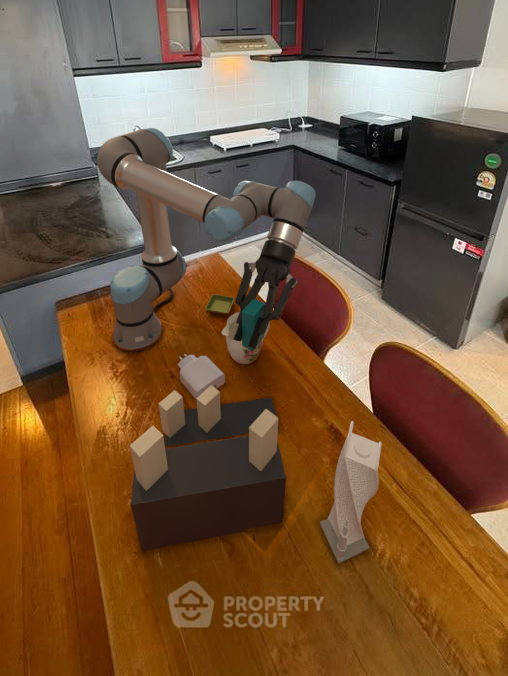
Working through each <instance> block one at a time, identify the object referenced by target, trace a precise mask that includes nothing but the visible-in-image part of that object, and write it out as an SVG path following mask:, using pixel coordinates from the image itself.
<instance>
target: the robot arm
mask: <svg viewBox="0 0 508 676" xmlns="http://www.w3.org/2000/svg"><path fill="white" fill-rule="evenodd" d="M173 156H174V149H173V145H172V142H171V141H170V139H169V138H168V136H167V135H165V133H164V132H163V131H162V130H160V129H158V128H154V127H147V128H139V129H138V130H134V131H131V132H127V133H124V134H122V135H117V136H113V137H111V138H109V139H107V140H106V141H105V142H104V143H103V144H102V145H100V148H99V150H98V153H97V157H96V163H97V167H98V170H99V172H100V175H102V177H103V178H104V179H105V180H106V181H107V182H108V183H109V184H111V185H113V186H114V187H117V188H119V189H121V190H124V191H127V190H132V191H134V192H135V196H136V202H137V210H138V215H139V220H140V226H141V227H140V228H141V233H142V238H143V245H144V250H143V251H142V253H141V262H142V264H141V265H131V266H129V267H124V268H122V269H121V270H119V271H117V272H116V273H115V275H113V276H112V278H111V281H110V284H109V285H110V287H109V288H110V298H111V300H112V304H113V311H114V316H115V319H116V320H115V324H114V328H113V333H112V338H113V342H114V344H115V346H116V348H118V349H119V350H121V351H124V352H127V353H137V352H143V351H145V350H147V349H150V348H151V347H153V346H154V345H155V344H156V343H157V342H158V341H159V340H160V339H161V336H162V333H163V328H162V323H161V320H160V319H159V317H158V315H156V313H155V310H156V309H157V308H158V307H160V306H162V305H164V304H165V303H167V302H169V301H171V299H172V298H173V296H174V291H173V289H172V288H173V287H174V286H175V285H177V284H178V283H179V282H180V281H181V280H183V278H184V276H185V275H186V272H187V266H188V264H187V261H186V260H185V257H183V255H182V253H181V252H180V251H179V250H177V248H176V247H175V246H174V245H172V238H171V230H170V222H169V215H168V208H171V209H172V210H174V211H176V212H179V213H181V214H183V215H185V216H187V217H189V218H191V219H194V220H196V221H198V222H200V223H202V224H203V225H204V229H205V231H206V233H207V235H210V237H211V239H213V240H215V241H217V242H221V243H222V242H223V243H224V242H228V241H230V240H232V239H233V238H235V237H236V236H239V235H240V234H241V233H242V232H243V231H244V230H245V229H246V228H247V227H249V226H250V225H251V224H252V223H254V222H255V221H256V220H258V219H259V218H260V217H262V216H264V217H268V218H272V219H273V220H272V223H271V225H270V228H269V230H268V233H267V236H266V237H267V238H266V239H267V240H265V241H264V243H263V247H262V249H261V251H260V255H259V257H258V258H257V259H256V260H255V262H248V261H245V262H244V263H243V275H242V277H241V280H240V284H239V287H238V290H237V293H236V297H235V299H234V303H235V304H236V305H237V306H238V307H239V308H240V309H239V312H240V313H239V315H238V318H237V320H236V323H237V324H239V326H238V328H237V331H236V333H235V336H234V339H233V340H236V341H240V342H241V340H242V311H243V310H244V309H245V308H246V306H247V305H248V304H249V303H250V302H251V301H252V300H253V299H255V300H257V297H258V295H259V293H260V291H261V289H262V288H263V286H265V284H266V283H268V290H267V295H266V298H265V299H266V300H265V308H264V313H263V315H262V318H261V317H259V318H258V320H257V323H256V326H255V329H254V331H253V334H252V337H251V339H250V342H249V345H248V346H249V347H251V348H256V345H257V342H258V340H259V337H260V334H263V335H264V334H265V332H266V330H267V327H268V324H269V322H270V323H271V321H279V320H280V318H281V317H282V314H283V312H284V310H285V308H286V306H287V303H288V301H289V299H290V297H291V294H292V292H293V290H294V289H295V288H296V287H297V286H298V285H299V280H298V279H296V278H295V277H293V276H292V275H291V267H292V264H293V262H294V259H295V256H296V254H297V252H296V249H298V248H299V244H300V242H301V239H302V236H303V234H304V230H305V227H306V225H307V223H308V220H309V217H310V214H311V212H312V210H313V206H314V202H315V199H316V196H317V195H316V194H317V193H316V190H315V189H314V187H312V186H311V185H310V184H308V183H306V182H303V181H301V180H290V181H289V182H287V184H286V185H285V187H283V188H282V187H277V186H272V185H268V184H263V183H259V182H257V181H250V180H249V181H248V180H242V181H240V182H239V183H237V186H236V187H235V188H234V190H233V195H232V197H231V198H227V197H226V196H223V195H220V194H218V193H216V192H213V191H211V190H208V189H206V188H204V187H201V186H199V185H197V184H194V183H193V182H190V181H187V180H185V179H183V178H181V177H178V176H176V175H174V174H171V173H170V172H168V167H167V164H168V163H170V161H171V160H172V158H173ZM255 270H256V274H257V275H256V276H255V278H254V282H253V283H252V286H251V287H250V285H251V282H252V278H253V273H254V272H255ZM283 281H285V285H284V287H283V288H282V291H281V293H280V295H279V298H278V299H277V302H276V298H277V293H278V291H279V287H280V284H281V283H282V282H283ZM167 291H169V292H170V295H169V296H168V298H166V299H164V300H162V301H161V302H159V303H157V304H155V305H154V302H155V301H156V300H157V299H158V298H160V297H162V295H164V294H165V293H166V292H167ZM275 303H276V304H275Z"/></svg>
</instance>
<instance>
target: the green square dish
mask: <svg viewBox="0 0 508 676" xmlns="http://www.w3.org/2000/svg"><path fill="white" fill-rule="evenodd" d="M235 300H236V297H234V296H227V295H221V294H216V293H215V294H214V293H213V294H211V296H210V298H209V300H208V302H207V304H206V305H205V308H204V310H206V311H207V312H210V313H215V314H221V315H228V314H230V311H231V309H232V306H233V303H234V302H235Z"/></svg>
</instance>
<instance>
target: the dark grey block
mask: <svg viewBox="0 0 508 676" xmlns="http://www.w3.org/2000/svg"><path fill="white" fill-rule="evenodd" d="M196 399H197V400H196ZM196 399H195V400H196V407H194V408H188V409H185V407H184V398H183V396H182V395H181V394H180V393H178V391H177V390H175V389H174V390H173V391H172V392H170V393H169V394H168V395H167V396H166V397H165V398H163V399H162V400H161V401H160V402H158V410H159V417H160V424H161V431H162V432H163V434H165V441H164V445H165V447H171V446H177V445H183V444H189V443H197V442H203V441H210V440H215V439H216V440H217V439H223V438H229V437H234V436H235V437H236V436H241V435H242V436H243V435H247V434H248V435H249V427H250V426H251V425H252V424H253V422H254V421H255V420H256V419H257V418H258V417H259V416H260V415H261V414H262V413H263V411H264V410H265V409H267V410H268V411H270V412H271V413H272V414H274V415H275V416H276V417H277V414H276V410H275V407H274V402H273V398H272V397H265V398H259V399H251V400H250V399H249V400H243V401H238V402H237V401H236V402H229V403H223V404H221V391H219V390H218V388H217V389H216V388H214V387H213V386H212V385H211V386H210V387H209V388H207V389H206V390H205V391H204V392H203V393H202V394H201V395H200V396H199V397H197V398H196ZM278 430H280V427H279V425H278Z"/></svg>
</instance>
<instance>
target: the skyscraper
mask: <svg viewBox="0 0 508 676" xmlns="http://www.w3.org/2000/svg"><path fill="white" fill-rule="evenodd" d="M354 423H355V422H354V420H351V421H350V425H349V428H348V432H347V435H346V438H345V441H344V443H343V446H342V448H341V451H340V453H339V457H338V460H337V464H336V469H335V474H334V485H333V499H334V501H333V504H332V506H331V509H330V512H329V514H328V517H327V518H325V519H324V520H321V521H320V522H319V525H320V528H321V530H322V532H323V534H324V536H325V539H326V540H327V543H328V545H329V547H330V549H331V552H332V554H333V556H334V558H335V561H336V563H337V564H338V565H340V564H342V563H344V562H346V561H348V560H350V559H352V558H354V557H356V556H358V555H360V554H362V553H364V552H366V551H368V550H369V549H370V546H369V543H368V542H367V539H366V538H365V535H364V531H363V527H362V516H363V512H364V509H365V507H366V505H367V503H368V501H370V500H371V499H372V498H373V497H374V496H375V495H376V494H377V492H378V489H379V487H380V486H379V485H380V479H379V471H378V470H379V464H380V458H381V451H382V445H383V443H382V441H380V440H379V442H376V441H374V440H371V439H369V438H367V437H364V436H362V435H359V434H356V433H354V432H353V430H354Z"/></svg>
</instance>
